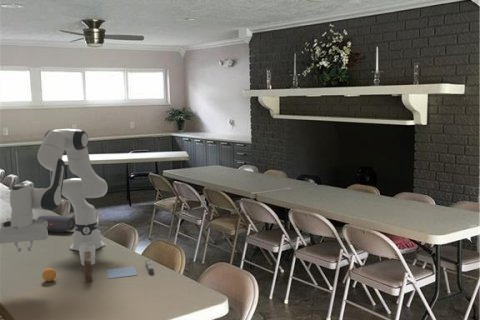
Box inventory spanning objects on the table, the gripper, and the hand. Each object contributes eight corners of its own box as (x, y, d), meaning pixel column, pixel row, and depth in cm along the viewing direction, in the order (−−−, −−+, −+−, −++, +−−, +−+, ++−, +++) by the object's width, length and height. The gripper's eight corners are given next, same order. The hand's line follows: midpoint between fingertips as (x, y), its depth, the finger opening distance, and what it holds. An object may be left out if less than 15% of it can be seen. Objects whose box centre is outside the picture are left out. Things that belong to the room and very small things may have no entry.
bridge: (85, 282, 232) (84, 261, 231) (85, 271, 247) (83, 252, 246) (92, 281, 233) (91, 260, 232) (91, 271, 248) (90, 251, 246)
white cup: (79, 267, 254) (78, 247, 253) (80, 262, 262) (78, 243, 261) (96, 265, 256) (95, 245, 255) (96, 260, 264) (95, 241, 263)
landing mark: (106, 270, 249) (106, 269, 249) (134, 266, 252) (134, 266, 252) (108, 278, 236) (108, 278, 236) (137, 275, 240) (137, 274, 240)
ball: (43, 279, 237) (42, 267, 236) (56, 278, 239) (56, 265, 238) (42, 284, 231) (41, 271, 231) (56, 282, 233) (55, 269, 232)
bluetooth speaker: (36, 232, 324) (35, 216, 323) (45, 228, 333) (44, 213, 332) (67, 234, 318) (66, 218, 317) (76, 230, 327) (75, 215, 326)
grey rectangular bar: (145, 265, 254) (145, 260, 254) (149, 264, 255) (149, 259, 255) (149, 274, 241) (149, 269, 241) (153, 273, 242) (153, 268, 241)
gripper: (47, 216, 235) (50, 246, 237) (-2, 220, 229) (1, 251, 231) (47, 219, 229) (49, 250, 231) (-4, 224, 223) (-1, 255, 225)
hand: (24, 250), depth 231 cm, fingers open, 3 cm apart
